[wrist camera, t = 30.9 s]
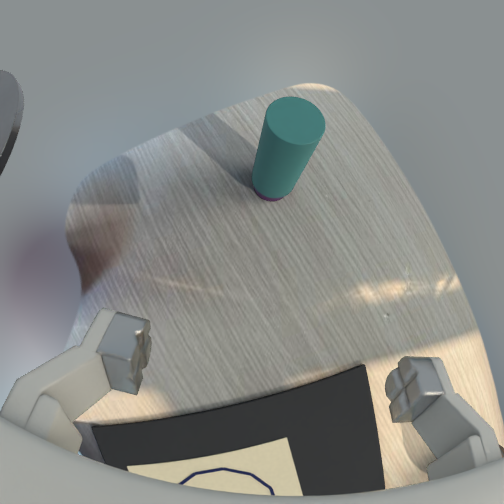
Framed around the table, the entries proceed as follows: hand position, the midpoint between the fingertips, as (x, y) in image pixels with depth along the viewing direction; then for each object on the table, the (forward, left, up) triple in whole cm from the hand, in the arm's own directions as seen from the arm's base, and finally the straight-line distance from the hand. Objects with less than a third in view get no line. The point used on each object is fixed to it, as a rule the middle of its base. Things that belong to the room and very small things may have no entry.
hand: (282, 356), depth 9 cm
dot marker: (+5, +11, -15) cm, 20 cm away
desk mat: (-3, -16, -15) cm, 22 cm away
